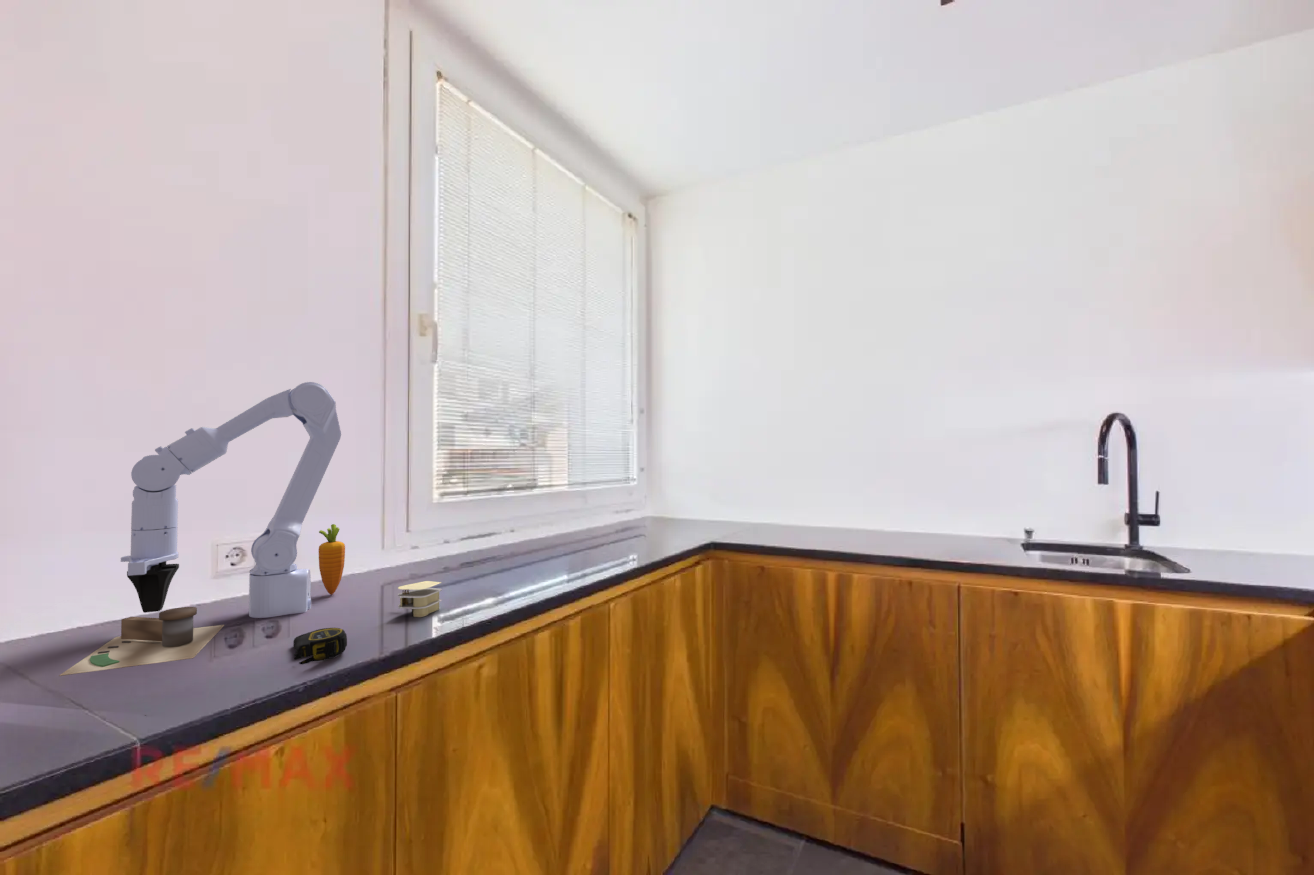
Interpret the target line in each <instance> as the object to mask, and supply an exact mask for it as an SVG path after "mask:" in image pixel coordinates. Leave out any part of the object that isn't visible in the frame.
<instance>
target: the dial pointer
mask: <svg viewBox="0 0 1314 875" xmlns="http://www.w3.org/2000/svg"><path fill="white" fill-rule="evenodd" d="M197 614H198V607H196V606H184V607H183V606H182V607H175V608H169V609H166V610H161V611H159V613H158V617H146V616H145V617H144V616H143V617H141V616H130V617H125V618H121V626H120V627H121V628H120V630H121V632H120V633H121V634H120V636H121V639H130V640H147V641H162V646H165V647H170V646H178V645H183V644H186V643H189V642H191V641H193V628H194V616H196V615H197Z"/></svg>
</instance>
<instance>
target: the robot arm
mask: <svg viewBox="0 0 1314 875" xmlns="http://www.w3.org/2000/svg"><path fill="white" fill-rule="evenodd" d="M291 416H294V417H295V418H296V419H297V420H298V421H299V422H301V423H302V425H303V427H304V429H305V431H306V432H307V434H308V436H309V439H308V441H307V443H306V446H305V449H304V450H303V452H302V454H301V456H300V459H299V461H298V464H297V465H296V467H295V469H294V472H293V474H292V476H291V478H290V481H289V482H288V485H287V487H286V489H285V492H284V494H283V496H282V498H281V499H280V502H279V504H278V506H277V509H276V510H275V512H274V515H273V517H272V518H271V519H270V521H269V523H268V525H267V526H266V529H265V530H264V532H263V533H261V534H260V535H258V537H256V538H255V540H254V541H253V543H252V545H251V549H250V554H251V556H252V558H253V559H254V562H255V565H254V566H253V567H252V568H251V569H250V570H249V571H248V572H249V576H248V577H249V578H248V579H249V580H248V581H249V584H248V586H249V587H248V616H249V617H250V618H255V619H258V618H259V619H262V618H264V619H265V618H274V617H279V616H286V615H293V614H295V615H296V614H302V613H307V611H308V610H311V607H312V598H311V591H312V590H311V589H312V588H311V582H312V580H311V578H312V577H311V569H310V568H298V564H295V563H294V562H295V561H296V559H297V556H298V548H297V543H298V540H299V538H300V537H301V536H300V535H301V531H302V526H303V523H304V520H305V518H306V515H307V513H308V511H309V510H310V507H311V504H312V503H313V500H314V498H315V496H316V494H317V492H318V489H319V487H320V485H321V484H322V483H321V482H322V481H323V478H324V476H325V473H326V472H327V470H328V466H329V465H330V463H331V460H332V457H333V456H334V453H335V451H336V449H337V446H338V445H339V442H340V440H341V436H342V431H341V430H342V429H341V426H340V421H339V418H338V413H337V403H336V401H335V399H334V397H333V396H332V394H331V393H330V391H329V390H328V389H327V388H326V387H325V386H324V385H322V384H321V383H319V382H318V383H317V382H314V381H306V382H302V383H299V384H298V385H297V386H295V388H293V389H291V388H288V389H286V390H283V391H282V392H278V393H276V394H273V395H271V396H269V397H267V398H265V399H262V400H261V401H259V402H258V403H255V405H253V406H252V407H250V408H248V409H246V410H245V411H243V412H242V413H240V414H238V415H236V416H234V417H233V418H231V419H230V420H227V421H226V422H225V423H223V424H221V425H219V426H218V427H216V428H212V427H209V426H207V427H205V426H200V427H199V428H197V429H194V428H190V429H188V430H186V431H184V434H186V435H184V436H182V437H181V438H179V439H177V440H175V441H174V442H172V443H169V444H167V445H166V446H165V447H162V446H158V447H157V448H154V451H155V452H156V454H149V455H146V456H143V457H142V458H141V459H140V460H138V461H137V462H136V463H135V464H134V465H133V467H132V470H131V472H130V477H131V480H132V482H133V484H135V485H136V486H134V488H133V490H132V497H133V500H132V501H131V519H130V520H131V523H130V524H131V525H130V555H124V556H122V557H120V562H122V563H124V562H126V563H127V571H126V576H127V578H128V580H130V582H131V584H132V585H133V586H134V589H135V590H136V593H137V596H138V600H139V603H140V607H141V610H142V612H143V613H145V614H146V613H154V612H161V611H163V608H164V605H165V601H166V599H167V595H168V591H169V587H170V584H171V582H172V581H173V578H174V576H175V575H176V573H177V571H178V570H179V568H180V564H179V563H167V562H168V561H172V560H176V559H178V558H179V552H178V524H179V523H178V522H179V520H178V519H179V515H178V514H179V500H178V498H177V482H178V480H179V479H180V477H181V476H182V475H188V476H190V475H192V474H194V473H195V472H197V471H198V470H201V468H203V467H206V465H209V464H210V463H212V462H214V461H216V460H217V459H219V458H221V457H222V456H224V455H226V454H227V452H228V446H229V443H231V441H233V440H235V439H237V438H239V437H241V436H242V435H244V434H247V433H249V432H250V431H252V430H253V429H255V428H258V427H259V426H260V425H262V424H264V423H266V422H268V421H270V420H273V419H281V418H289V417H291Z"/></svg>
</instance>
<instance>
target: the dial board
mask: <svg viewBox="0 0 1314 875" xmlns="http://www.w3.org/2000/svg"><path fill="white" fill-rule="evenodd" d="M224 626H225V624H217V625H211V626H209V625H208V626H202V627H201V626H200V627H193V641H191V642H189V643H186V644H183V645H178V646H170V647H165V646H162V641H147V640H130V639H121V635H120V636H115V637H114V638H112V639H111V640H109V641H108V642H106V643H104V644H103V645H101V647H99V648H97V649H96V650H94V651H93V652H92V653H90V654H88V655H87V656H86V657H84V658H83V659H81V660H80V661H78V662H77V663H75V664H74V665H72V666H71V667H69V668H68V669H66V670H65V671H64V672H62V673H61V674H59V675H58V676H59V677H60V676H68V675H69V676H70V675H76V674H85V673H91V672H100V671H108V670H114V669H122V668H130V667H136V666H137V667H138V666H142V665H143V666H145V665H151V664H161V663H166V662H175V661H182V660H183V661H185V660H189V659H194V658H195V657H196V656H197V655H198V654H199V652H201V651H202V649H203V648H205V646H206V645H207V644H208V643H209V642H210V641H211V640H212V639H213V638H214V637H215V636H216V635H217V634H218V633H219V632H220V631H221V629H222V628H223V627H224Z"/></svg>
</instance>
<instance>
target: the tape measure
mask: <svg viewBox="0 0 1314 875" xmlns="http://www.w3.org/2000/svg"><path fill="white" fill-rule="evenodd" d="M292 646H293V648H294V650H295V653H294V654H293V656H294V658H293V659H294V660H299V659H300V660H301V659H302V658H306V659H304V660H301V661H299V662H298V664H299V665H306V664H309V663H311V662H312V663H313V662H321V661H322V662H323V661H326V660H327V661H328V660H330V659H333V658H336V657H339V655H341V654H342V653H344V652H345V651H346V648H347V646H348V637H347V633H346V630H344V629H342V628H340V627H325V628H319V629H316V630H312V631H309V632H306V633H302V634H301V635H297V636H296V637H295V638H294V639H293V644H292Z"/></svg>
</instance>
